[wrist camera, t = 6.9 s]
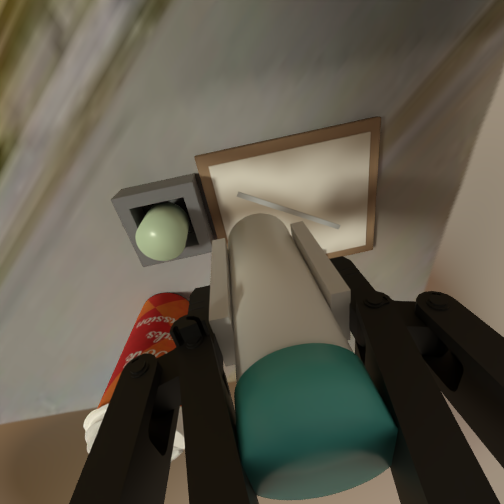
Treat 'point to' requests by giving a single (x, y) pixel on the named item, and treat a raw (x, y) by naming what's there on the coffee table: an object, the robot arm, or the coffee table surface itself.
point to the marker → (297, 376)
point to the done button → (163, 232)
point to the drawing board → (301, 184)
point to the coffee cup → (141, 342)
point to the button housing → (164, 190)
